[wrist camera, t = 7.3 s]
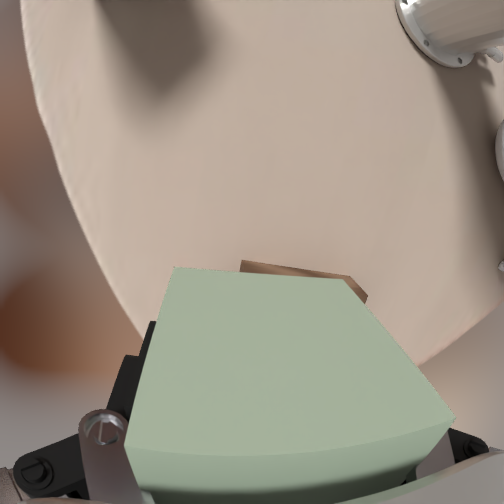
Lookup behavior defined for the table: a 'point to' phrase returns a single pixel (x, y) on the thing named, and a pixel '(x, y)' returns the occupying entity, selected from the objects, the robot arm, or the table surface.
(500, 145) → the spoon rest
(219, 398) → the sage block
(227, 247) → the table surface
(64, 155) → the table surface
